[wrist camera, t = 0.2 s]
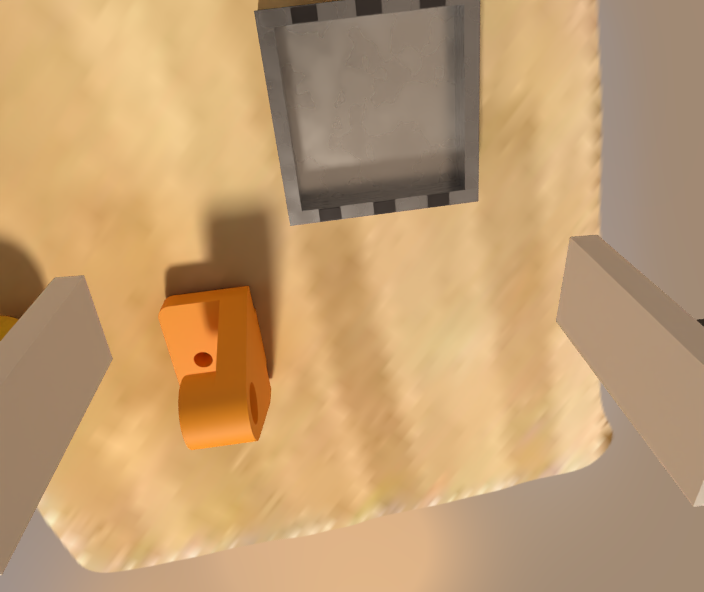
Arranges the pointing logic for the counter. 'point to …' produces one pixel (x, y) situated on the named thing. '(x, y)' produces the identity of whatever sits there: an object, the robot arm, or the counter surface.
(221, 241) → the counter surface
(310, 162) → the open square box
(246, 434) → the bracket
